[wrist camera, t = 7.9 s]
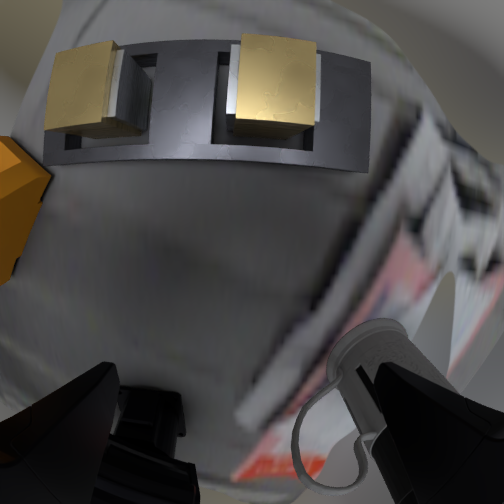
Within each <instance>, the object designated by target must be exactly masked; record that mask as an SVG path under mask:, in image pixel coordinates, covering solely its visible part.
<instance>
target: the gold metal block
mask: <svg viewBox="0 0 504 504" xmlns="http://www.w3.org/2000/svg"><path fill="white" fill-rule="evenodd" d="M320 88H321V54H316V42H311V41H305V40H299V39H292V38H285V37H277V36H268V35H257V34H242V36H241V45H234V44H231V56H230V68H229V80H228V94H227V108H226V124H227V130H228V131H233V136H238V137H256V138H270V139H282V140H286V139H288V138H290V137H292V136H294V135H296V134H298V133H300V132H302V131H304V130H306V129H308V128H310V127H312V126H314V124H316V123H318V122H319V120H320Z"/></svg>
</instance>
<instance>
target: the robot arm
mask: <svg viewBox="0 0 504 504" xmlns="http://www.w3.org/2000/svg"><path fill="white" fill-rule="evenodd" d="M374 388H375V391H376V395H377V398H378V401H379V404H380V407H381V411H382V414H383V417H384V420H385V422H386V425H387V427H388V429H389V432H390V434H391V436H392V439H393V441H394V443H395V446H396V448H397V451H398V453H399V455H400V458H401V460H402V463H403V465H404V468H405V470H406V473H407V475H408V478H409V480H410V483H411V485H412V488H413V491H414V493H415V496H416V498H417V501H418V504H504V413H503V412H501V411H498V410H495V409H492V408H489V407H486V406H484V405H482V404H479V403H477V402H475V401H472V400H470V399H468V398H464V397H463V396H461V395H459V394H457V393H455V392H453V391H451V390H449V389H447V388H445V387H442V386H440V385H438V384H436V383H434V382H432V381H430V380H428V379H426V378H424V377H422V376H420V375H418V374H416V373H414V372H411V371H409V370H407V369H405V368H403V367H401V366H399V365H397V364H395V363H393V362H391V361H389V362H382V363H381V364H380V365H379V367H378V370H377V373H376V376H375V378H374ZM120 391H121V392H120ZM174 397H176V398H174ZM117 402H118V405H119V408H120V411H121V414H120V417H119V420H118V422H117V425H116V428H115V431H114V434H113V435H112V434H110V431H111V427H112V423H113V419H114V414H115V408H116V403H117ZM185 435H186V429H185V422H184V415H183V407H182V399H181V395H180V394H178V393H174V392H162V391H153V390H144V389H136V388H128V387H121V386H120V381H119V377H118V373H117V369H116V365H115V364H114V363H112V362H101V363H100V364H98V365H96V366H95V367H93V368H92V369H90V370H88V371H87V372H85V373H83V374H82V375H80V376H79V377H77V378H75V379H74V380H72V381H70V382H69V383H67V384H65V385H64V386H62V387H61V388H59V389H57V390H56V391H54V392H52V393H51V394H49V395H47V396H46V397H44V398H42V399H41V400H39V401H37V402H36V403H34V404H32V406H29V407H27V408H26V409H24V410H22V411H21V412H19V413H17V414H15V415H14V416H12V417H10V418H8V419H6V420H4V421H2V422H0V504H200V491H199V486H198V480H197V474H196V468H195V464H193V463H186V462H183V461H180V460H177V459H174V456H175V448H176V441H177V437H185Z"/></svg>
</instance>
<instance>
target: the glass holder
mask: <svg viewBox="0 0 504 504" xmlns="http://www.w3.org/2000/svg"><path fill="white" fill-rule="evenodd" d="M389 361H391V362H393V363H395V364H397V365H399V366H401V367H403V368H405V369H407V370H409V371H411V372H414V373H416V374H418V375H420V376H422V377H424V378H426V379H428V380H430V381H432V382H434V383H436V384H438V385H440V386H442V387H445V388H447V389H449V390H451V391H453V392H455V393H457V394H459V393H458V392H457V390H456V389H455V388H454V387H453V386H452V385H451V384H450V383H449V382H448V381H447V379H446V378H445V377H444V376H443V375H442V374H441V373H440V372H439V371H438V370H437V369H436V367H435V366H434V365H433V364H432V363H431V362H430V361H429V360H428V359H427V358H426V357H425V356H424V355H423V354H422V353H421V351H420V350H419V349H418V348H417V347H416V346H415V345H414V344H413V343H412V342H411V341H410V340H409V339H408V335H407V332H406V330H405V329H404V327H403V326H402V325H401V324H400V323H399V322H397V321H395V320H392V319H387V318H379V319H374V320H370V321H367V322H364V323H362V324H360V325H358V326H357V327H355V328H353V329H352V330H351V331H349V332H348V333H347V334H346V335H345V336H343V337H342V338H341V339H340V341H339V342H338V343H337V344H336V346H335V347H334V349H333V350H332V352H331V354H330V356H329V358H328V362H327V369H326V372H327V377H328V380H329V382H330V384H329V385H327V386H326V387H325V388H323V389H322V390H321V391H319V392H318V393H317V394H316V395H315V396H314V397H312V398H311V399H310V400H309V401H308V402H307V403H306V404H305V405H304V406H303V407H302V409H301V411H300V413H299V415H298V417H297V419H296V422H295V425H294V428H293V431H292V440H291V452H292V459H293V465H294V468H295V471H296V473H297V476H298V478H299V480H300V481H301V482H302V483H303V484H304V485H305V486H306V487H307V488H308V489H310V490H312V491H314V492H317V493H319V494H323V495H330V496H337V495H344V494H347V493H349V492H351V491H353V490H355V489H356V488H357V487H358V486H359V485H360V484H361V483H362V482H363V481H364V479H365V477H366V474H367V471H368V461H367V458H366V454H365V452H364V449H363V447H362V444H361V442H362V441H363V442H364V444H365V446H366V448H367V450H368V452H369V455H370V456H371V458H372V459H373V460H374V461H375V462H376V464H377V466H378V468H379V470H380V472H381V474H382V476H383V479H384V481H385V483H386V485H387V487H388V489H389V492H390V494H391V496H392V498H393V500H394V502H395V504H418V501H417V498H416V496H415V493H414V491H413V488H412V485H411V483H410V480H409V478H408V475H407V473H406V470H405V468H404V465H403V463H402V460H401V458H400V455H399V453H398V451H397V448H396V446H395V443H394V441H393V439H392V436H391V434H390V432H389V429H388V427H387V425H386V422H385V420H384V417H383V414H382V411H381V407H380V404H379V401H378V398H377V395H376V391H375V388H374V378H375V376H376V373H377V370H378V367H379V365H380V364H381V363H382V362H389ZM333 388H336V389H337V390H339V391H340V393H341V395H342V398H343V400H344V402H345V404H346V406H347V408H348V410H349V412H350V414H351V416H352V418H353V421H354V423H355V425H356V427H357V429H358V431H359V433H360V436H359V437H358V438H357V440H356V441H355V443H354V452H355V455H356V458H357V460H358V465H359V475H358V477H357V479H356V481H355V482H354V483H353V484H351V485H349V486H347V487H329V486H324V485H322V484H320V483H317V482H315V481H314V480H313V479H312V478H311V477H310V476H309V475H308V474H307V473H306V471H305V468H304V466H303V464H302V461H301V457H300V450H299V444H298V442H299V430H300V427H301V424H302V421H303V418H304V417H305V415H306V413H307V411H308V410H309V409H310V408H311V407H312V406H313V405H314V404H315V403H316V402H317V401H318V400H320V399H321V398H322V397H323V396H325V395H326V394H327V393H329V392H330V391H331V390H332V389H333ZM459 395H460V394H459Z"/></svg>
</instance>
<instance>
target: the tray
mask: <svg viewBox="0 0 504 504" xmlns="http://www.w3.org/2000/svg"><path fill="white" fill-rule="evenodd" d="M231 44H234V45H241V41H238V40H174V41H159V42H148V43H139V44H130V45H123V46H119V47H120V48H121V49H122V50H123V49H124V50H125V51H126V52H127V53H128V54H129V55H130V56H131V57H132V58H133V60H134V61H135V62H136V63H137V64H138V65H139V66H140V67H148V66H156V71H155V79H154V88H153V97H152V106H151V118H150V130H149V144H145V145H123V146H107V147H94V148H84V149H81V138H82V136H77V135H71V134H65V133H59V132H53V131H46V130H45V136H44V152H43V166H57V165H70V164H82V163H95V162H112V161H137V160H213V161H238V162H256V163H271V164H284V165H295V166H305V167H315V168H324V169H332V170H340V171H348V172H359V173H368V167H369V151H370V128H371V64H370V62H367V61H364V60H360V59H356V58H352V57H348V56H344V55H339V54H335V53H330V52H325V51H320V50H316V54H321V88H320V120H319V122H318V123H316V124H314V126H312V127H310V128H308V129H306V130H304V144H303V150H294V149H284V148H272V147H258V146H242V145H220V144H213V134H214V119H215V105H216V93H217V81H218V70H219V64H221V65H230V56H231Z"/></svg>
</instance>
